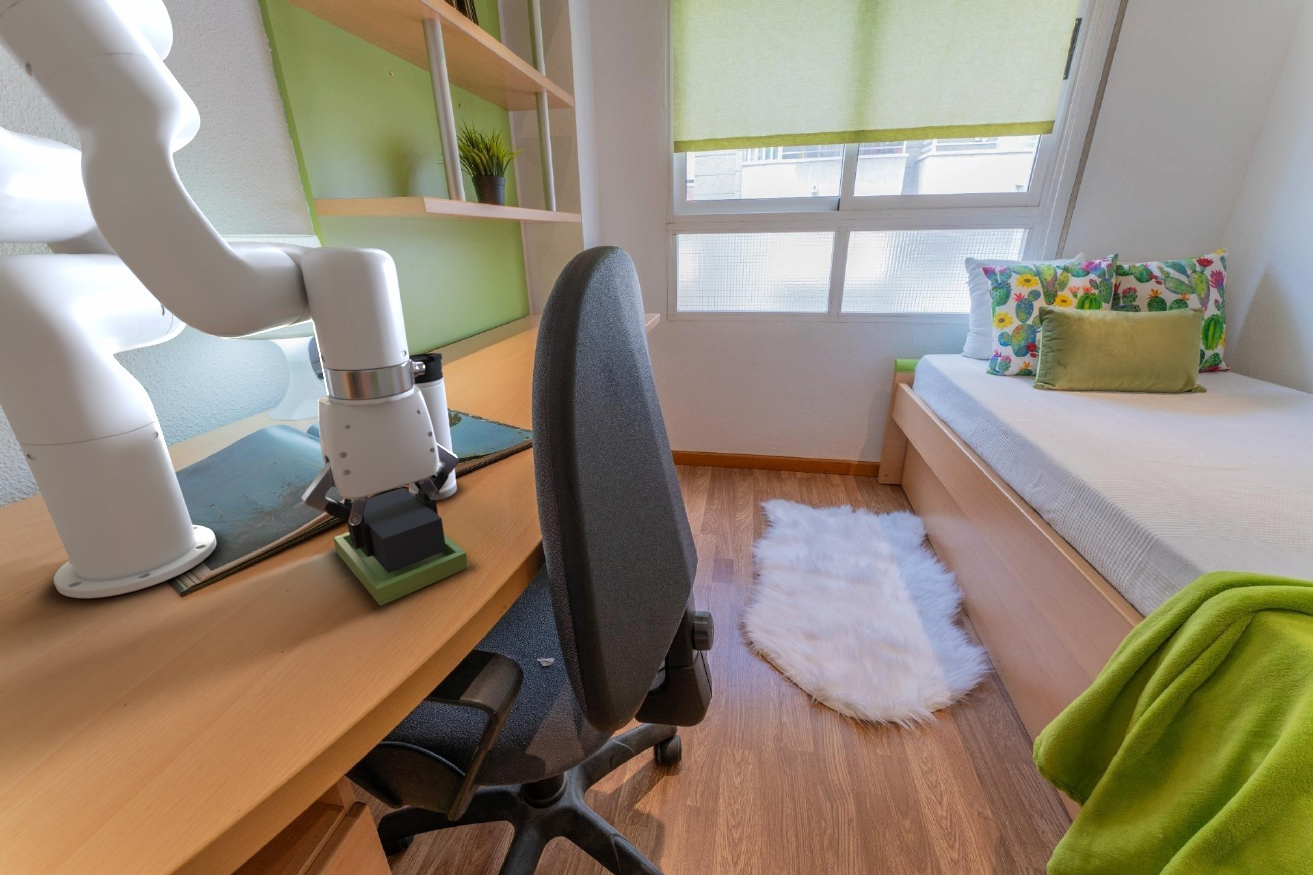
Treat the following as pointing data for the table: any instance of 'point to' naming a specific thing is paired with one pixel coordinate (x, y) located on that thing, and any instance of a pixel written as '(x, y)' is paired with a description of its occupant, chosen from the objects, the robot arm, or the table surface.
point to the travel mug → (435, 411)
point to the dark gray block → (402, 529)
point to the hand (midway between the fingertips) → (398, 537)
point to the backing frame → (400, 570)
